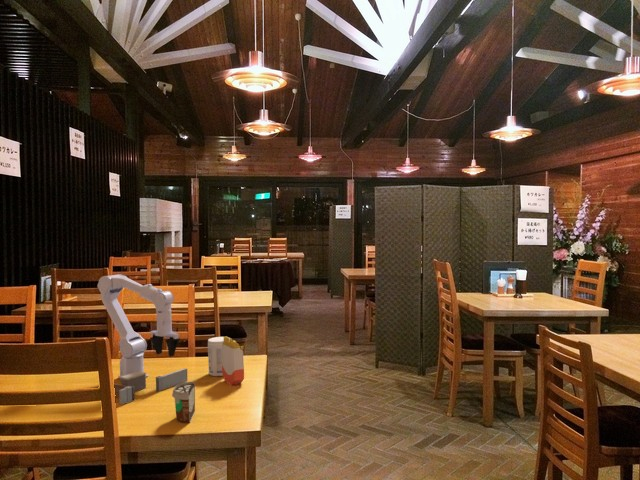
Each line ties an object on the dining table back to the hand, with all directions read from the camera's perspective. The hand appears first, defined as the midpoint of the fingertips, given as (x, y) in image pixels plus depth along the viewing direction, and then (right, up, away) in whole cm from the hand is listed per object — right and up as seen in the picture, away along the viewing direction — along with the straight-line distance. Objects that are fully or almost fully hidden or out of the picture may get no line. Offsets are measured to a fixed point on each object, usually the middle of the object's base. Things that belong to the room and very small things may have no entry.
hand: (165, 354), depth 193 cm
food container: (+18, -11, -38) cm, 44 cm away
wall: (+1, -11, -13) cm, 17 cm away
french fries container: (+28, -10, -3) cm, 30 cm away
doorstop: (-9, -11, -11) cm, 18 cm away
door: (-9, -11, -19) cm, 24 cm away
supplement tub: (+20, -10, +9) cm, 24 cm away
